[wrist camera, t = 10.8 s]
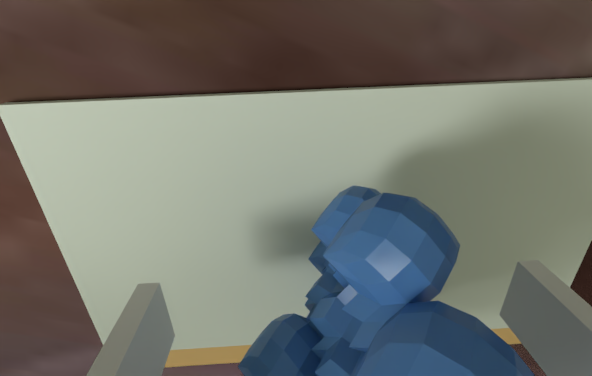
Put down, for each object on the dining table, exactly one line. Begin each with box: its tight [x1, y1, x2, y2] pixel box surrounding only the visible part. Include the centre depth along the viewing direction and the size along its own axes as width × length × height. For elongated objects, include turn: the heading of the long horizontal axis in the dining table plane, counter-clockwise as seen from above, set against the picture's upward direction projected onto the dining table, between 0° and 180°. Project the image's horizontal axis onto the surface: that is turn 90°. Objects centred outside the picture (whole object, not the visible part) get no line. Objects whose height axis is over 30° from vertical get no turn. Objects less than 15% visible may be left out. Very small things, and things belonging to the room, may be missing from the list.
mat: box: [0, 77, 592, 350], centre depth 15 cm, size 26×14×1 cm, turn 92°
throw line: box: [165, 328, 521, 367], centre depth 19 cm, size 26×2×1 cm, turn 92°
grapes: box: [238, 185, 535, 376], centre depth 10 cm, size 12×7×12 cm, turn 3°
